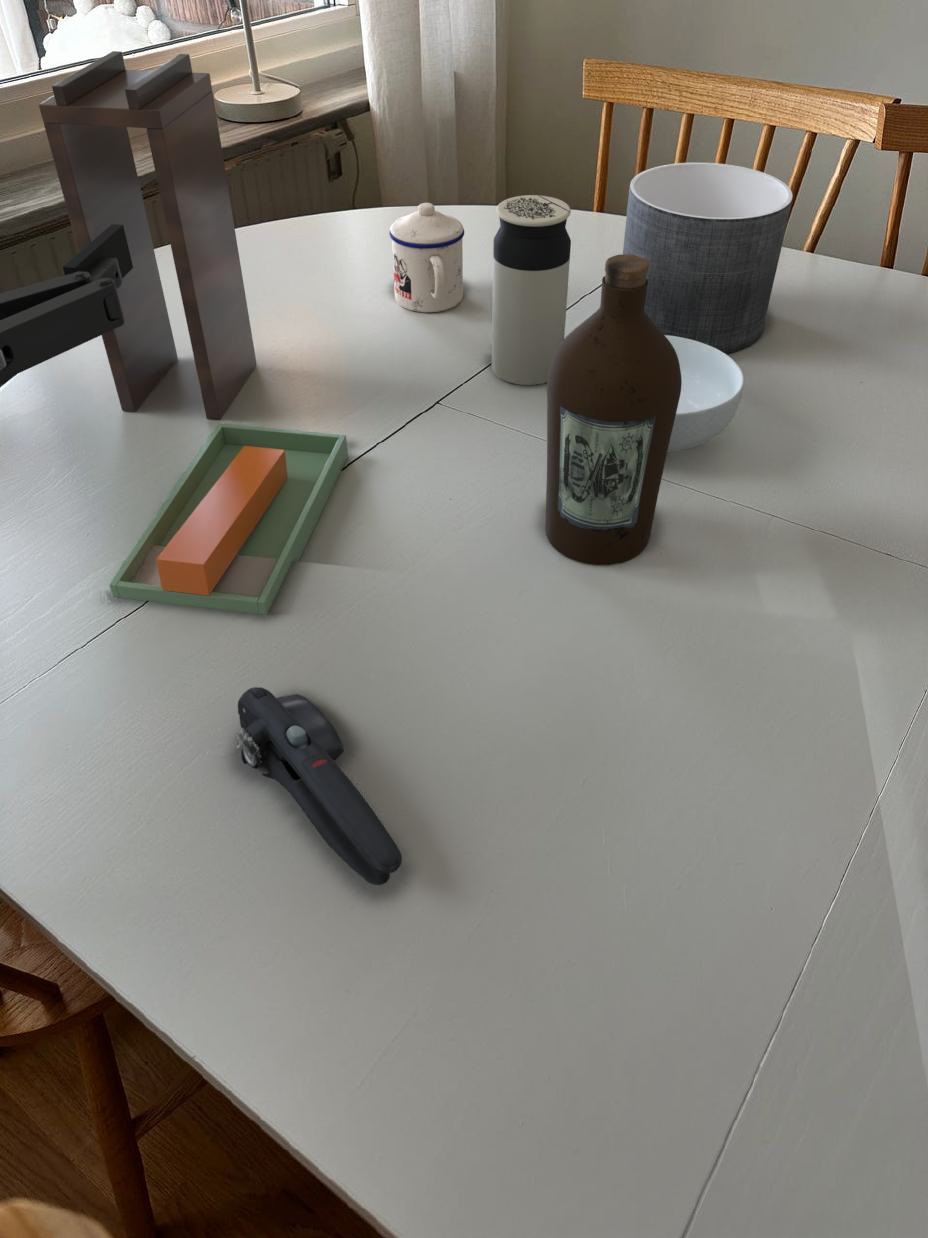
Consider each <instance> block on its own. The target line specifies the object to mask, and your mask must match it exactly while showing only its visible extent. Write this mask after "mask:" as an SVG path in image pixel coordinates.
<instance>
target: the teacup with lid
mask: <svg viewBox="0 0 928 1238" xmlns="http://www.w3.org/2000/svg"><path fill="white" fill-rule="evenodd" d="M464 236H465V229H464V225H463V223H462V222H461V221H460V220H459V219H458V218H456V217H454V216H452V215H449V214H445V213H442V212H440V211H438V210H436V208H435V205H434V204H433V203H431V202H423V203H420V204H418V206H417V210H416V211H414V212H412V213H410V214H407V215H403V216H402V217H399V218H397V219H396V220H395V221H393V223H392V224H391V226H390V228H389V237H390V239H391V249H392V267H393V271H392V272H393V288H394V299H395V301H396V303H397V304H398V305H399V306H401V307H402V308H404V309H406V310H409V311H413V312H417V313H439V312H445V311H447V310H450V309H453V308H455V307H456V306H457V305H458V304H460V303H461V302H462V299H463V296H464V288H463V286H464V281H463V280H464V279H463V277H464V276H463V275H464V272H463V270H464V269H463V263H464V261H463V260H464V259H463V255H464V254H463V253H464V252H463V237H464ZM452 307H453V308H452Z"/></svg>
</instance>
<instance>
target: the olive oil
mask: <svg viewBox="0 0 928 1238" xmlns="http://www.w3.org/2000/svg"><path fill="white" fill-rule="evenodd" d="M648 268H649V263H648V261H647V260H645V259H643V258H641V257H639V256H635V255H628V254H623V253H622V254H616V255H612V256H610V257H608V258H607V259H606V260H605V263H604V273H605V275H604V276H603V277H602V279H601V291H600V292H601V293H600V305H599V307H598V309H597V310H596V311H595V312H593V313H592V314H591V315H590V316H589V317H588V318H587V319H585V320H584V321H582V322H581V323H580V324H579V325H578V326H576V327H575V328H574V329H573V330H571V332H569V333H568V335H566V336H565V337H564V340H563V341H562V342H561V344H560V345H559V347H558V349H557V350H556V353H555V355H554V357H553V360H552V362H551V365H550V368H549V373H548V379H547V382H546V493H545V495H546V496H545V523H544V524H545V525H544V526H545V528H544V529H545V530H544V531H545V535H546V538H547V541H548V543H549V544H550V545H551V547H552V548H553V549H555V551H556V552H558V553H559V554H561V555H562V556H564V557H565V558H568V559H570V560H572V561H574V562H578V563H581V564H585V563H586V565H591V564H592V566H613V565H619V564H622V563H625V561H626V562H628V561H631V560H633V559H635V558H636V557H638V556H639V555H641V554H642V553H643V552H644V551H645V549H646V548H647V546H648V545H649V542H650V538H651V534H652V528H653V524H654V519H655V518H654V517H655V513H656V508H657V504H658V503H657V502H658V498H659V493H660V487H661V483H662V478H663V473H664V469H665V465H666V460H667V455H668V452H667V451H668V447H669V442H670V438H671V433H672V429H673V425H674V420H675V416H676V412H677V407H678V403H679V399H680V394H681V385H682V379H681V370H680V364H679V360H678V356H677V354H676V351H675V349H674V348H673V346H672V344H671V343H670V341H669V340H668V339H667V338H666V336H665V335H664V334H663V333H662V332H661V331H660V329H659V328H658V327H657V326H656V325H655V324H654V323H653V321H652V320H651V319H650V318H649V317H648V315H647V314H646V312H645V310H644V307H645V301H646V295H647V288H648V280H647V279H646V275H647V274H648ZM618 563H619V564H618Z"/></svg>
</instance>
